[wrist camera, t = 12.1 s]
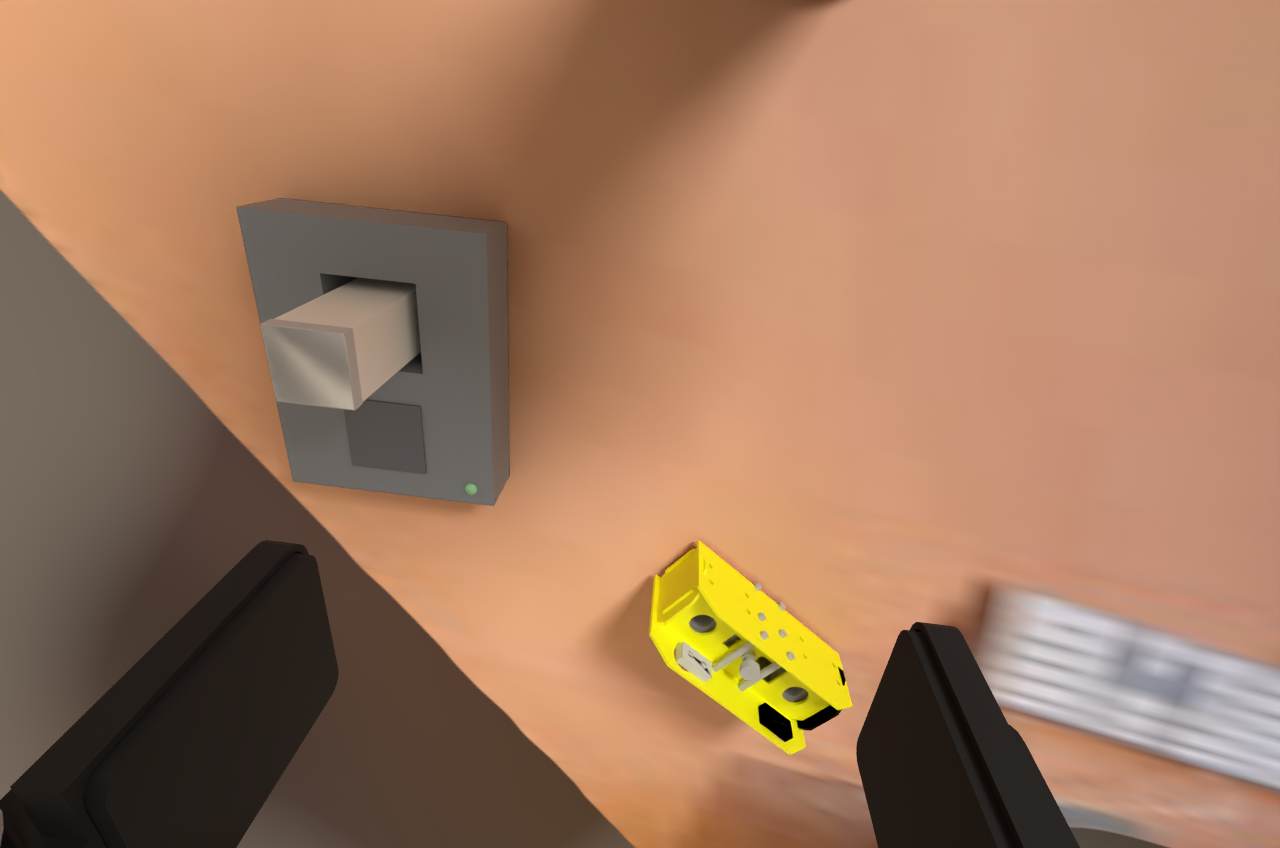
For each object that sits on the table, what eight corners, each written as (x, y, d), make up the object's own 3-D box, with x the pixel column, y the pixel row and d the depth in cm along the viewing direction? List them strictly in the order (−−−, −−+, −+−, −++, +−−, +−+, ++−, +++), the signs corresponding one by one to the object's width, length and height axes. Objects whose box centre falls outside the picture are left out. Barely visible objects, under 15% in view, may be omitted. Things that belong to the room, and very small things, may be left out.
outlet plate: (280, 198, 37) (234, 207, 33) (506, 222, 37) (485, 234, 33) (324, 452, 45) (291, 482, 42) (509, 474, 45) (493, 507, 41)
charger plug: (362, 274, 38) (260, 323, 29) (426, 281, 38) (344, 333, 29) (369, 336, 40) (276, 401, 31) (431, 344, 40) (355, 410, 31)
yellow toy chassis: (650, 571, 48) (642, 654, 41) (701, 531, 46) (702, 611, 39) (786, 676, 52) (801, 770, 45) (839, 644, 50) (864, 736, 43)
